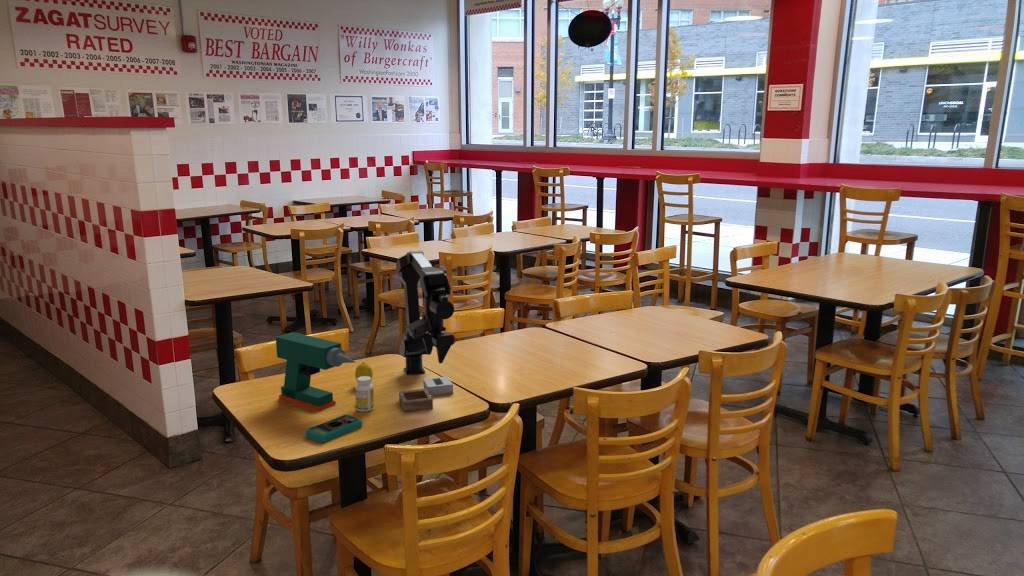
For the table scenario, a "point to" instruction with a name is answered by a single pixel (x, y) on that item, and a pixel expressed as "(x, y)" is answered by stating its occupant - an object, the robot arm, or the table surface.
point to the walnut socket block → (415, 400)
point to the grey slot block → (438, 385)
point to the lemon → (363, 370)
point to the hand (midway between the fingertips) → (434, 358)
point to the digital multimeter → (333, 428)
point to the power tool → (307, 368)
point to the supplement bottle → (364, 394)
